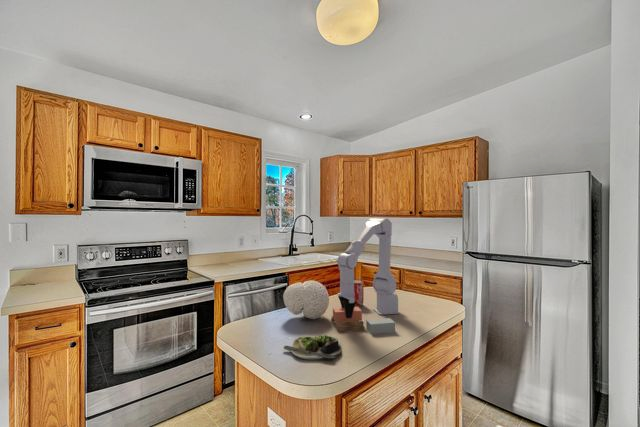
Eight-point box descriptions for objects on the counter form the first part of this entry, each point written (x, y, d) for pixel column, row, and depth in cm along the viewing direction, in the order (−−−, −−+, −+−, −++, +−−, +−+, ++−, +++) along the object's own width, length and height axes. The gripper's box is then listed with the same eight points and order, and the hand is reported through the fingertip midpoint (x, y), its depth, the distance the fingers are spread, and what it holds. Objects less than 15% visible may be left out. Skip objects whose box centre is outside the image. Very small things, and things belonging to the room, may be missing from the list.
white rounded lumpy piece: (323, 310, 143) (323, 276, 143) (334, 324, 126) (334, 284, 126) (281, 314, 138) (281, 278, 138) (287, 328, 121) (286, 287, 121)
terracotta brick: (358, 316, 128) (358, 306, 128) (361, 320, 123) (361, 310, 123) (332, 317, 126) (332, 308, 126) (335, 322, 121) (335, 312, 121)
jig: (355, 319, 132) (355, 313, 132) (364, 329, 120) (364, 323, 120) (331, 320, 130) (331, 314, 130) (337, 331, 118) (337, 325, 118)
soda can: (354, 308, 147) (354, 283, 147) (346, 304, 153) (346, 280, 153) (366, 306, 150) (366, 282, 150) (358, 302, 156) (358, 279, 156)
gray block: (389, 327, 122) (389, 318, 122) (395, 332, 117) (395, 322, 117) (366, 329, 120) (366, 319, 120) (370, 334, 116) (370, 324, 116)
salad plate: (280, 364, 93) (280, 349, 93) (286, 340, 111) (286, 327, 111) (343, 363, 93) (343, 349, 93) (339, 339, 111) (339, 327, 111)
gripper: (333, 279, 131) (333, 310, 131) (341, 287, 117) (341, 322, 117) (349, 278, 132) (349, 309, 132) (359, 286, 118) (359, 321, 118)
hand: (347, 315), depth 125 cm, fingers closed on terracotta brick, 5 cm apart
